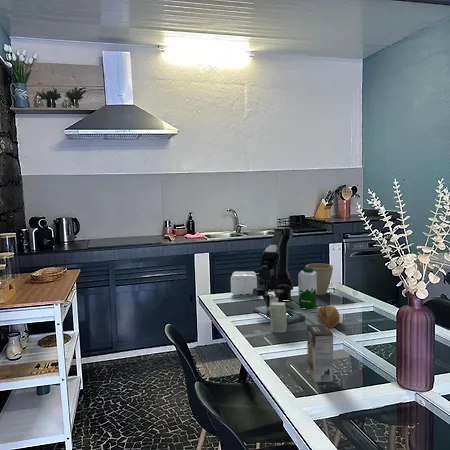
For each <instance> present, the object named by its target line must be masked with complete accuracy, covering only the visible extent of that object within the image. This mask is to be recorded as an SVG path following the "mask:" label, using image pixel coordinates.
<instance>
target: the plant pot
mask: <svg viewBox="0 0 450 450" xmlns="http://www.w3.org/2000/svg"><path fill="white" fill-rule="evenodd" d="M305 267H311V268H312V271H316V280H317V296H325V295H326V294H327V293H328V290H329V287H330V283H331V280H332V276H333V268H334V266H333V265H332V264H329V263H309V264H306V265H305Z"/></svg>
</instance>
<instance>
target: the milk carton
mask: <svg viewBox="0 0 450 450" xmlns="http://www.w3.org/2000/svg"><path fill="white" fill-rule="evenodd" d="M297 276H298V277H297V279H298V281H297V284H298V286H297V287H298V288H297V289H298V307H300V308H305V309H304V310H308V309H315V308H316V306H317V300H318V299H317V297H318V295H317V280H316V271H312V268H311V267H306V266H305V267H303V270H301V271H299V272H298V275H297ZM300 308H299V309H300Z"/></svg>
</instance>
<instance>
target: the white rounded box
mask: <svg viewBox="0 0 450 450" xmlns="http://www.w3.org/2000/svg"><path fill="white" fill-rule="evenodd" d="M257 280H258V277H257V274H256V272H255V271H233V272H232V274H231V277H230V293H231V294H232V295H235V296H241V295H246V294H250V295H249V296H253V295H254V294H253V289H254V288H258V286H257ZM240 294H241V295H240Z"/></svg>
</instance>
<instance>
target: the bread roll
mask: <svg viewBox="0 0 450 450" xmlns="http://www.w3.org/2000/svg"><path fill="white" fill-rule="evenodd" d="M316 313H317V318H318V320H319V322H320V323H321V324H325V325H326V326H327V327H328V328H335V327H336V326H338V324H339V322H340V317H341V316H340V313H339V310H338V309H337V308H336V307H335V306H332V305H321V306H320V307H319V308H318V310H317V312H316Z"/></svg>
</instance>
